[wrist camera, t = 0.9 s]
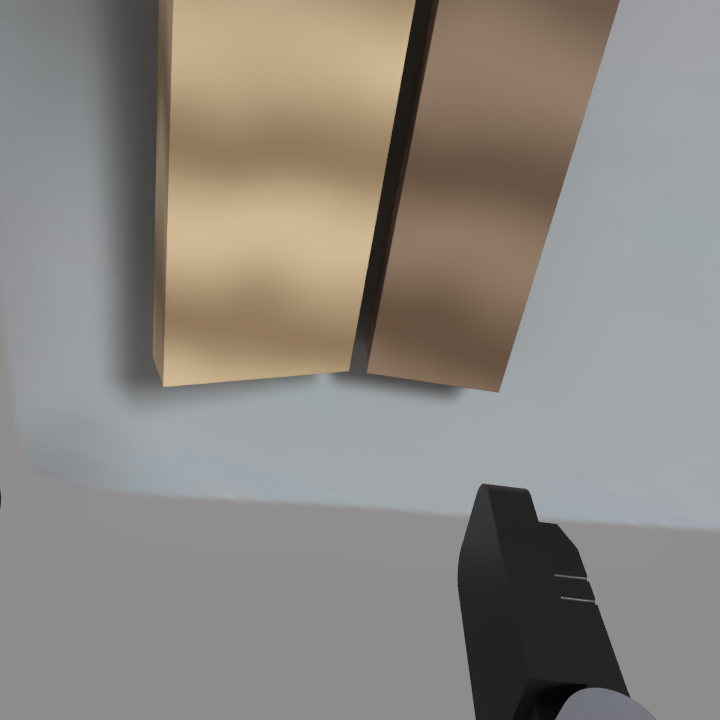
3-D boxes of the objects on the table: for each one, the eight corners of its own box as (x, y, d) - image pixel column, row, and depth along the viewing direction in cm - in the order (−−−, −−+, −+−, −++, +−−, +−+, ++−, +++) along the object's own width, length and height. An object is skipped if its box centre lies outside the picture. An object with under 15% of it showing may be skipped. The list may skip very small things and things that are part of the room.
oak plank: (163, -269, 19) (181, -289, 17) (414, -189, 22) (451, -199, 20) (152, 356, 28) (163, 387, 27) (329, 344, 32) (349, 371, 30)
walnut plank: (466, -176, 23) (476, -193, 21) (639, -141, 23) (667, -154, 21) (367, 346, 32) (366, 373, 30) (489, 365, 33) (498, 392, 31)
